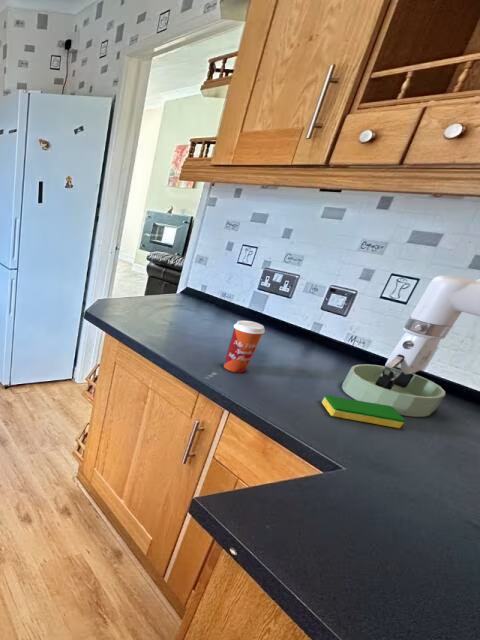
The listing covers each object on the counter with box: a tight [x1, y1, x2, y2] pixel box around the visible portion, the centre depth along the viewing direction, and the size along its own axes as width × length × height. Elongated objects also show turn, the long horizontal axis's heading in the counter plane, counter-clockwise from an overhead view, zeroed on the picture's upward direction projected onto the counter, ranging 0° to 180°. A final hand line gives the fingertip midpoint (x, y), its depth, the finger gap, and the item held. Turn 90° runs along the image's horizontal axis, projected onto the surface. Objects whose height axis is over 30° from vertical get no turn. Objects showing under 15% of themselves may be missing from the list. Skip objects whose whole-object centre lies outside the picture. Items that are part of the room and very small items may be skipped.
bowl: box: [341, 363, 446, 418], centre depth 109 cm, size 18×18×6 cm
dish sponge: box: [321, 394, 406, 429], centre depth 102 cm, size 7×14×2 cm, turn 69°
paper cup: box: [223, 320, 266, 373], centre depth 121 cm, size 8×8×14 cm
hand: (389, 388), depth 110 cm, fingers open, 8 cm apart
